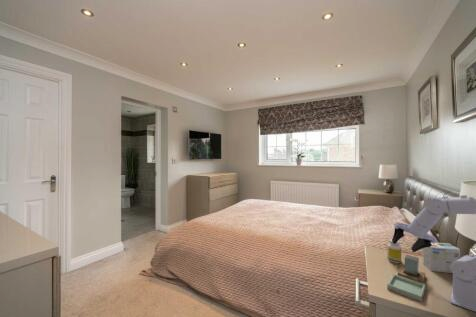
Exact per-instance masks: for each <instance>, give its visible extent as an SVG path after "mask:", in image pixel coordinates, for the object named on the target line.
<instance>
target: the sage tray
mask: <svg viewBox="0 0 476 317" xmlns="http://www.w3.org/2000/svg"><path fill="white" fill-rule="evenodd" d="M386 286H387V287H386V288H387V290H389V291H393V292H395V293H398V294H400V295H402V296H405V297H408V298H410V299H413V300H415V301H419V302H421V303H422V302H423V298H424V295H425V292H426V284H425V283H423V284H422V283H419V282H416V281H413V280H410V279H407V278H404V277H401V276H398V274H395V273H393V274H392V276H391V277H390V279H389V280H388V282H387V285H386Z"/></svg>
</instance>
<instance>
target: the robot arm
mask: <svg viewBox="0 0 476 317" xmlns="http://www.w3.org/2000/svg"><path fill="white" fill-rule="evenodd" d="M467 195H468V194H467ZM467 195H464V194H463V195H459V196H456V197H453V196H452V197H448V196H445V195H444V196H442V197H439V196H438V197H434V198H429V199H428V200H427V201H426V202H425V205H424V208H423V209H422V210H421V211H420V212H418V214H417V215H416V216H415V218H413V220H412V221H411V223H410V224H406V223H401V222H397V221H396V222H395V223H394V224H393V226H394V233H393V236H392V238H391V239H392V242H393V244H396V243H397V241H400V239H401V238H403V237H405V234H404V232H407V233H409V234H411V235H412V236H414V237H416V238H417V239H416V241H415V242H414V243H413V244H412V245H411V247H410V250H411V251H412V253H415V252H417V251H419V250H422V249H423V248H425V247H430V246H431V245H432V244H431V243H433V244H434V243H437V241H438V240H437V238H436V236H433V235H431V234H429V232H430V231H431V230H432V228H433V227H434V226H435V225H436V224H437V223H438V222H439V221H440V219H441V218H442V217H443V215H444V214H452V215H476V198H475V197H473V196H467ZM450 268H451V271H452V273H451V274H452V291H450V292H451V295H450V303H451V304H453V305H455V306H458V307H462V308H463V309H466V310H469V311H473V312H475V313H476V254H475V255H473V254H472V255H471V254H466V255H462V256H460V259H458V260H457V261H454V262H452V263H451V265H450Z"/></svg>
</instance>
